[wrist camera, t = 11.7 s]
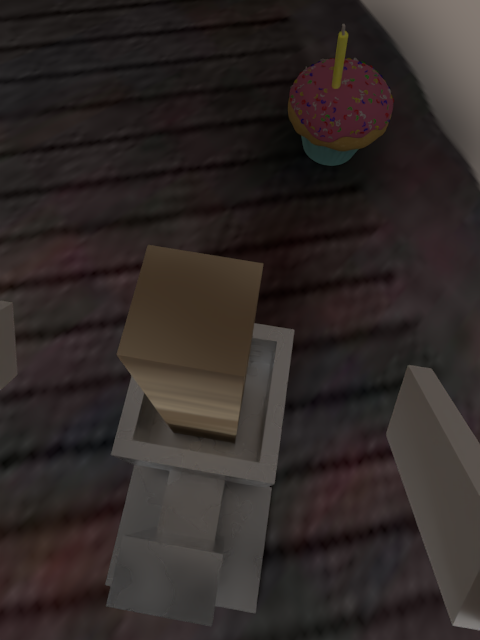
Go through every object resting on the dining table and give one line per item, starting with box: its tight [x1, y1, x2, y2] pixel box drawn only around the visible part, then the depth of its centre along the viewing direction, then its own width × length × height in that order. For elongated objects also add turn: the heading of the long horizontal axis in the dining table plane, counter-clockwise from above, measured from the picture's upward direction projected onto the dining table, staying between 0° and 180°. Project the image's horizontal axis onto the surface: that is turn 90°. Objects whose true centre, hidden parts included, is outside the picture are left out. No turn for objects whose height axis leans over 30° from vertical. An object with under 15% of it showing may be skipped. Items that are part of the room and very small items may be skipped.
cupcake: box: [288, 24, 394, 166], centre depth 36 cm, size 9×8×12 cm
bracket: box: [105, 323, 294, 626], centre depth 25 cm, size 14×9×12 cm, turn 171°
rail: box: [117, 245, 263, 443], centre depth 19 cm, size 4×4×14 cm
